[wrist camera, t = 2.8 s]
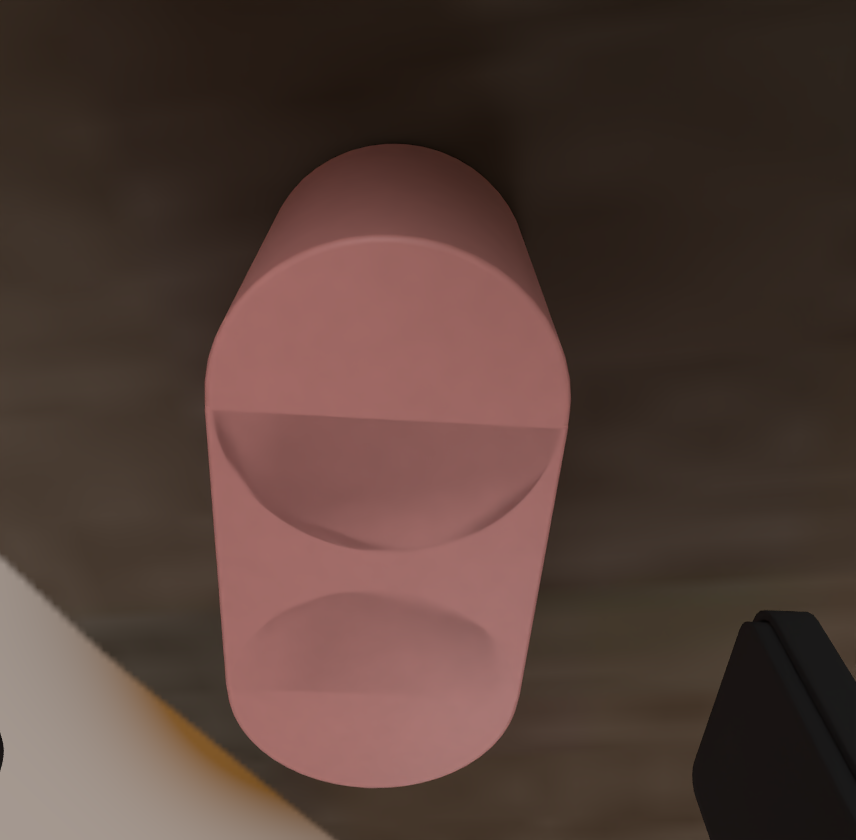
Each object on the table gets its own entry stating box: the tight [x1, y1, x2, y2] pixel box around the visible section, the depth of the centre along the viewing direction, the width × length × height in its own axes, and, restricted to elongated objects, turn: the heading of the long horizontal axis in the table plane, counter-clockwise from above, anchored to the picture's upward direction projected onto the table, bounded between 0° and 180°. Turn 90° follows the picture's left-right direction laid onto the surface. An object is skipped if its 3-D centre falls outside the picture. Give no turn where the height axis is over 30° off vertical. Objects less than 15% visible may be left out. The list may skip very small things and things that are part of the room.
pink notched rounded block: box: [205, 144, 571, 788], centre depth 13 cm, size 10×4×5 cm, turn 176°
